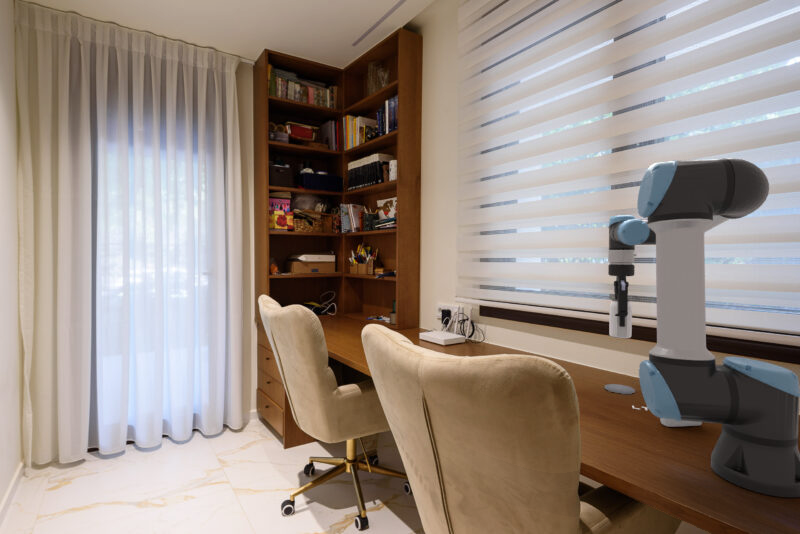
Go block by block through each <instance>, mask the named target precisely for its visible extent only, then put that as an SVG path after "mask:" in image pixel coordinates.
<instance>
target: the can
mask: <svg viewBox="0 0 800 534" xmlns="http://www.w3.org/2000/svg"><path fill="white" fill-rule="evenodd" d="M617 313H618V301H617V299H615V298H612V299H611V301H610V304H609V323H608V325H609V328H608V330H609V331H608V332H609V333H608V335H609V336H610V337H611V338H615V339H630V338H631V337H632V331H633V330H632V329H633V327H632V326H633V322H632V321H633V305H632V303H631V299H628V315H627V332H626V337H618V336H617V316H615V314H617Z"/></svg>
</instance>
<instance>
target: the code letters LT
mask: <svg viewBox="0 0 800 534" xmlns="http://www.w3.org/2000/svg"><path fill="white" fill-rule="evenodd" d="M631 407H632V409H634V410H639V411H641V408H642V409H643V408H644V410H645V411H648V409H649V408H648V407H647V406H641V408H638V407H635V405H631Z"/></svg>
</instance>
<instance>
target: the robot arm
mask: <svg viewBox="0 0 800 534" xmlns="http://www.w3.org/2000/svg"><path fill="white" fill-rule="evenodd" d="M640 182H641V183H640V186H639V190H638V195H637V210H638V211H637V212H638V215H639V216H640V217H641V218H644V219H638V218H636V216H634V215H630V214H627V215H625V214H624V215H622V214H621V215H614V216H611V217H609V222H608V253H607V254H608V256H607V257H608V258H607V259H608V260H607V263H609V264H608V270H607V271H608V274H607V275H609V276H610V277H616V280H614V281H613V287H614V290H613V291H614V299H617V301H618V313H617V314H615V316H617V336H618V337H626V332H627V315H628V300H629V299H628V297H629V296H628V295H629V285H630V284H629V282H628V281H627V277H634V276H635V267H636V266H635V264H634V263H635V258H636V257H637V255H638V254H637V252H636V251H635V248H636V247H635V246H649V245H651V246H652V245H654V246H655V267H656V268H655V269H656V270H655V273H656V275H655V277H656V280H655V281H656V282H655V283H656V286H655V287H656V290H655V291H656V345H655V346H654V347H652V348H651V349H650V350H649V351H648V359H645V360H643V361H641V362H640V363H639V369H638V378H639V380H638V381H639V385H640V389H641V393H642V394H641V395H642V397H643V399H644V402H645V404H646V407H648V408H647V409H648V410H649V411H650V412H651V414H652V415H654V416H655V417H656V418H659V419H660V418H664V419H672V420H676V421H681V420H682V421H694V422H702V423H709V424H710V423H711V424H722V426H721V433H720V435H719V437H718V439H717V441H716V443H715V445H714V447H713V450H712V452H711V455H710V456H711V457H710V468H711V469H712V470H713V472H714V473H715V474H716V475H717V476H719V477H721V478H722V479H724V480H726V482H727V481H728V482H729V483H731V484H734V485H735V486H737V487H740V488H744V489H746V490H749V491H752V492H755V493H759V494H764V495H767V496H774V497H779V498H780V497H781V498H800V450H799V445H798V443H799V419H800V417H799V415H800V413H799V412H800V380H799V378H798V375H797V374H796V373H795V372H794V371H792V370H791V369H788V368H786V367H783V366H779V365H777V364H773V363H769V362H765V361H762V360H758V359H757V360H756V359H752V358H748V357H741V356H726V357H724V359H723V360H722V364H716V363H717V361H716V356H715V354H713V353H712V352H711V351H710V350H708V348H707V337H706V335H707V331H706V330H707V324H706V319H707V318H706V317H707V316H706V274H705V273H706V267H705V259H706V257H705V233H706V232H708V231H710V230H712V229H714V228H715V227H717V226H719V225H721V224H724V223H726V222H727V221H729V220H736V219H741V218H742V219H743V217H744V218H745V217H747V216H748V215H751V214H753V213H754V212H756V211H757V210H758V209H760V208H761V206H763V204H764V203H765V202H766V200H767V198H768V196H769V192H770V183H769V182H770V181H769V180H768V177H767V175H766V174H765V172H764V171H763V169H761V168H760V167H758V166H757V165H756V164H755V163H753V162H750V161H747V160H744V159H742V158H741V159H740V158H734V157H729V158H728V157H726V158H715V159H714V158H711V159H684V160H683V159H682V160H681V159H680V160H679V159H673V160H671V161H669V160H668V161H662V162H655V163H653V164H651V165H650V166H649V167H648V168H647V169H646V171H645V173H644V175H643V177H642V179H641V181H640ZM646 218H647V219H646ZM635 252H636V253H635Z"/></svg>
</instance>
